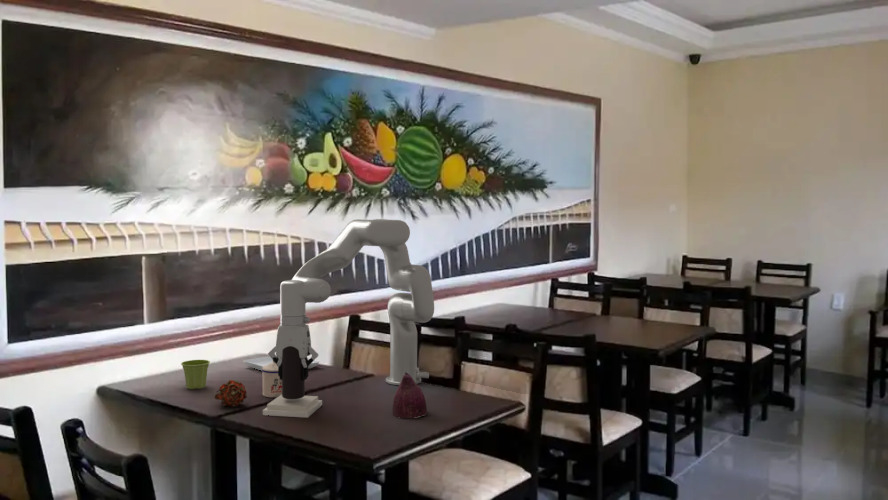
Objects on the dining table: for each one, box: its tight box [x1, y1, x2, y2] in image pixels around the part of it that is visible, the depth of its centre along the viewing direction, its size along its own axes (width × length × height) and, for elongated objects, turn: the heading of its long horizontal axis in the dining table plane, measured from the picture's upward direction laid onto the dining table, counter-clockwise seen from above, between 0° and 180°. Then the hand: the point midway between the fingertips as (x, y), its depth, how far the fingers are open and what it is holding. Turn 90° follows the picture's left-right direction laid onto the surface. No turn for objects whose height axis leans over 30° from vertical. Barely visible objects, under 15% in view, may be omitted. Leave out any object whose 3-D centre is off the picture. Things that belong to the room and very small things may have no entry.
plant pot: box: [180, 359, 211, 390], centre depth 262 cm, size 9×9×9 cm
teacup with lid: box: [261, 361, 282, 399], centre depth 254 cm, size 12×9×12 cm
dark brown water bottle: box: [282, 339, 306, 399], centre depth 234 cm, size 7×7×20 cm
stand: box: [262, 395, 323, 419], centre depth 235 cm, size 14×14×3 cm
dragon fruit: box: [213, 379, 248, 408], centre depth 240 cm, size 8×8×12 cm
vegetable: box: [391, 372, 428, 419], centre depth 230 cm, size 10×10×15 cm
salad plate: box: [243, 355, 320, 372], centre depth 292 cm, size 21×21×3 cm
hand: (293, 378), depth 235 cm, fingers closed on dark brown water bottle, 6 cm apart
